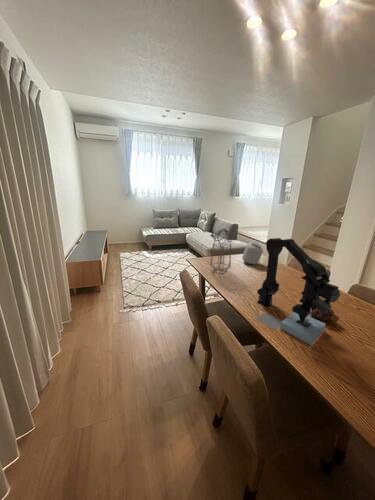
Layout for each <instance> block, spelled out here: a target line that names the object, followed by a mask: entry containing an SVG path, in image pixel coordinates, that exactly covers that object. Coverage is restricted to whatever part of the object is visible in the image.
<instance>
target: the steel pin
mask: <svg viewBox="0 0 375 500" xmlns="http://www.w3.org/2000/svg"><path fill="white" fill-rule="evenodd" d="M311 311H312V308H310V312H311ZM310 317H311V314H310V315H308V316H307V317H306V318H305V320H304V322H303V323H302V322H301V321H300V318H299V323H298V324H300V325H302V326H304V327H306V328H308V324H309V319H310Z"/></svg>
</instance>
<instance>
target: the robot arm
mask: <svg viewBox="0 0 375 500" xmlns="http://www.w3.org/2000/svg"><path fill="white" fill-rule="evenodd" d="M284 248H285V250H287V251H288V252H289V253H290V254H291V255H292V256H293V257H294V258H295V259H296V261H297V262H298V263H299V264H300V266H301V269H302V271H303V273H304V274H305V275H304V276H301V279H302V280H304V281H305V283H304V285H303V286H304V287H303V291H301V292H300V293H301V294H300V295H302V296H301V299H299V303H297V304H294V305H293V306H292V308H291V311H292V313H293V312H295V313H297V314H298V315H299V318H300V321H301V322H302V323H303V322H304V320H305V318H306V317H307V316H308V315H310V314H311V312H312V311H311V312H310V308H312V310H314V309H318V310H319V311H320V312H321V313H322V314H325V313H326V312H327V311H328V310H329V309H330V308H331V309H332V304H331V303H336V302H337V301H338V299H339V298H340V296H341V292H340V290H339V286H338V285H334V284H331V283H330V282H331V281H330V277H329V276H328V273H327V268H326V267H325V266H324V265H323V264H322V263H320V262H319V261H317V260H315V259H312V258H311V257H310V256H309V254H307V253H306V252H305V251H304V250H303V249H302V248H301V247H300V246H299V245H298V244H297V243H296V242H295V240H294V239H293V238H285V239H282V238H280V237H277V238H275V237H274V238H269V239H268V240H267V241H266V248H265V249H266V251H267V254H268V259H267V268H266V275H265V276H266V278H264V281H263V283H262V285H261V288H259V289H257V294H258V295H259V296H258V300H257V301H256V304H259V305H260V306H263V307H265V308H268V307H270V306H271V305H273V299H274V298H273V296H274V295H276V294H277V293H278V291H279V290H280V283H278V282H277V271H278V264H279V255H280V254H281V252H282V251H283V249H284ZM318 278H319V279H318ZM300 303H301V304H300ZM310 316H311V315H310Z"/></svg>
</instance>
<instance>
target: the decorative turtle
mask: <svg viewBox="0 0 375 500" xmlns="http://www.w3.org/2000/svg"><path fill="white" fill-rule="evenodd" d="M310 317H312V318H314V319H316V318H318V319H319V321H320V322H323V323H325V322H326V321H327V320H329V321H332V322H334V323H337V322H339V321H340V317H339V316H337V315H336V314H335V311H334V310H333V309H332V307H331V308H330V309H329V310H328V311H327V312H326V313H325V314H322V313H321V312H320V311H319V310H318V309H314V310H312V312H311V315H310Z"/></svg>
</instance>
